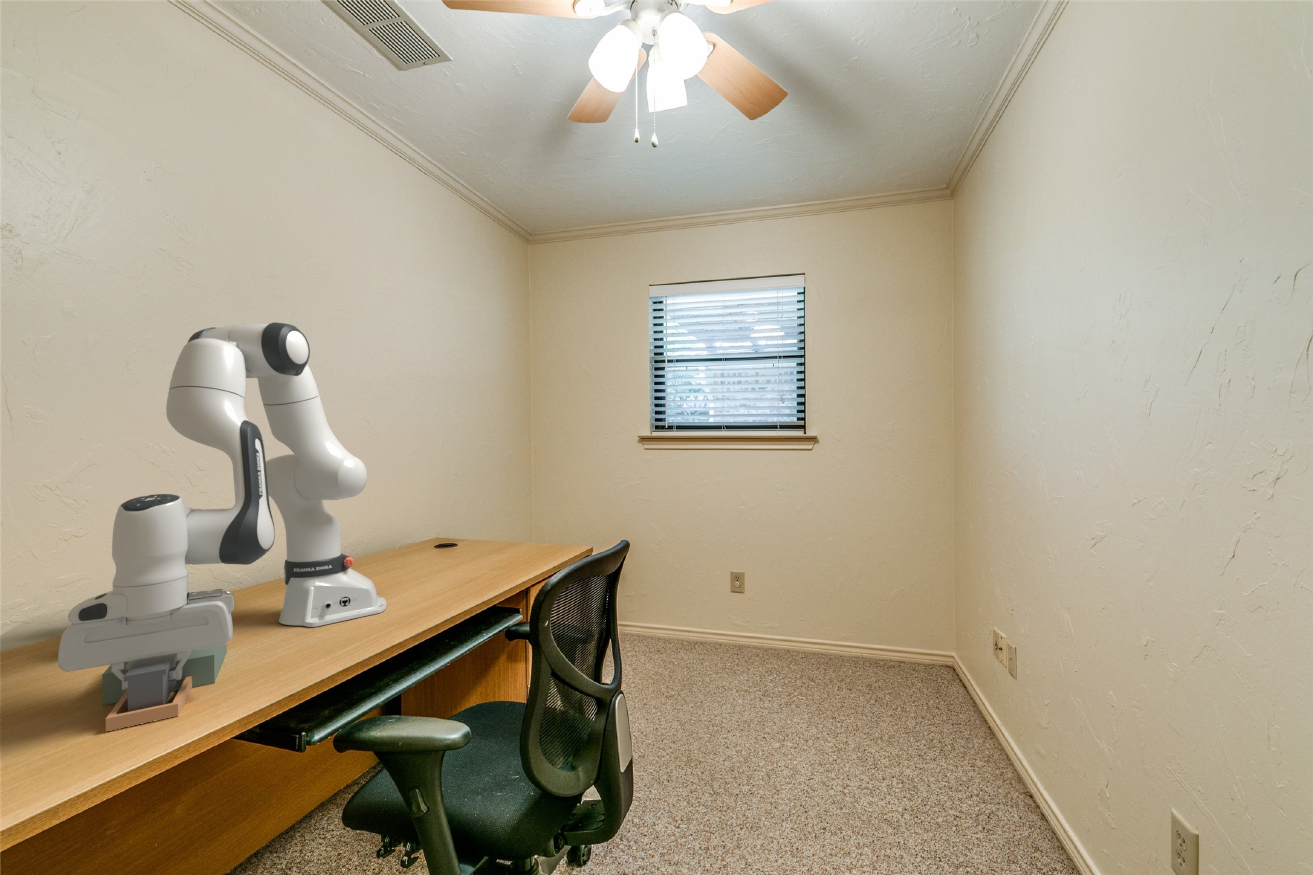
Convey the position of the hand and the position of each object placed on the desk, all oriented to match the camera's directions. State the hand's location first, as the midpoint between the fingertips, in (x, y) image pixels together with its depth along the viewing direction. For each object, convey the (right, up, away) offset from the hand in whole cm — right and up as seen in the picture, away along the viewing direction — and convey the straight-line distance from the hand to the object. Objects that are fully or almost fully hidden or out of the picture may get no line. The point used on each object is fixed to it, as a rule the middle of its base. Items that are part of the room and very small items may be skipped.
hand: (152, 683), depth 86 cm
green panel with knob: (-4, -4, +6) cm, 8 cm away
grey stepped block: (0, -2, 0) cm, 2 cm away
